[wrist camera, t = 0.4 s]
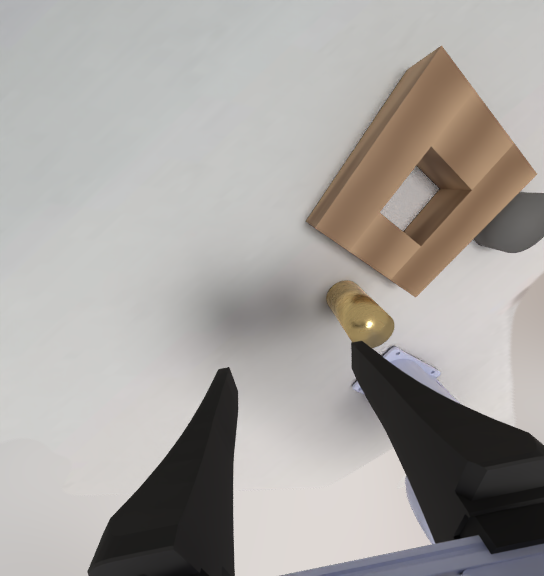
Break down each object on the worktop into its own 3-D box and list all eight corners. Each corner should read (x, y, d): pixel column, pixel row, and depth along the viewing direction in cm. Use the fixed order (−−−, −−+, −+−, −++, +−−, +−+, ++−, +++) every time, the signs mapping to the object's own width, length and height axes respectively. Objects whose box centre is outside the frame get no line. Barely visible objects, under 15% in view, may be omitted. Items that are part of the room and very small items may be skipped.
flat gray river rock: (533, 211, 21) (567, 215, 19) (488, 254, 22) (515, 262, 20) (507, 180, 19) (541, 180, 17) (461, 229, 21) (486, 234, 19)
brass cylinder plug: (366, 290, 23) (403, 324, 17) (344, 315, 24) (372, 354, 19) (341, 274, 22) (372, 305, 16) (319, 301, 23) (341, 338, 17)
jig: (495, 175, 19) (537, 174, 16) (395, 283, 23) (415, 297, 20) (407, 69, 15) (441, 45, 12) (305, 221, 19) (314, 228, 16)
